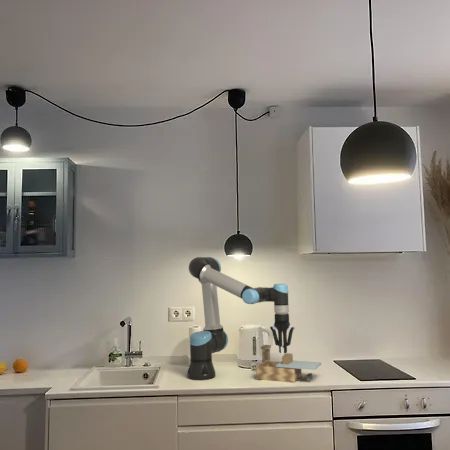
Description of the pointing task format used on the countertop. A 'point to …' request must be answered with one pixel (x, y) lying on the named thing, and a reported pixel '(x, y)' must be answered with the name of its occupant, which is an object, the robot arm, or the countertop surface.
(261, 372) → the toolbox
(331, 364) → the countertop surface
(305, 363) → the lid
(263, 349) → the beige wooden tall block
